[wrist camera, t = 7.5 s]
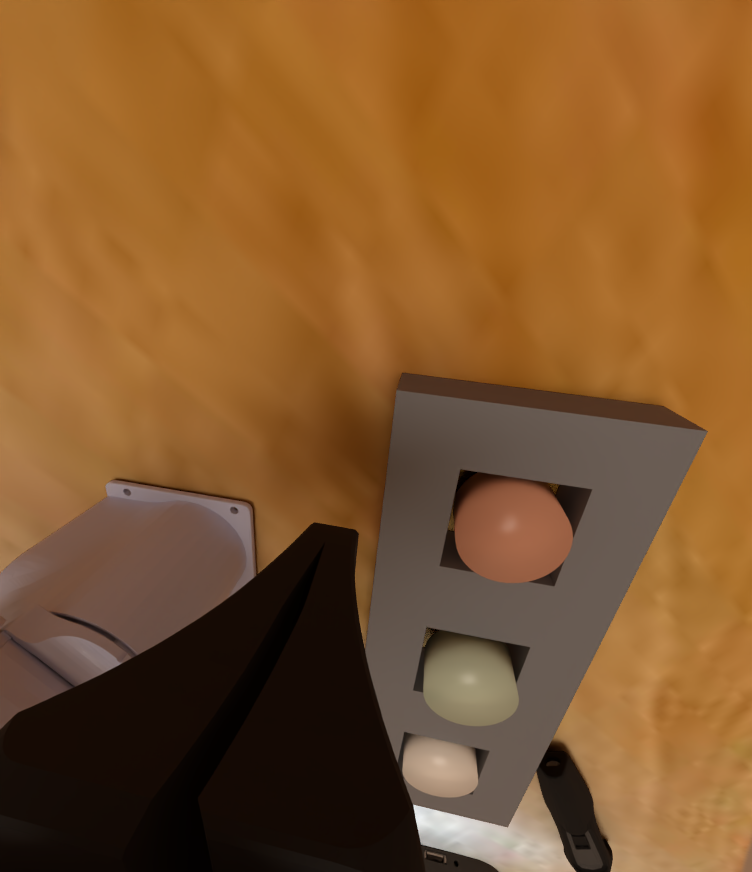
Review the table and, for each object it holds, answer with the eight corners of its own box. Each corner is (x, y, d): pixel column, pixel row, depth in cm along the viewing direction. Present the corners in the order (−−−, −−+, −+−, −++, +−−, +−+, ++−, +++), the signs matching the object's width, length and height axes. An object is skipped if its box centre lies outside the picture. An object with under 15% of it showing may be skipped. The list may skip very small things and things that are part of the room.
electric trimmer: (571, 727, 27) (587, 780, 24) (609, 841, 32) (626, 897, 29) (519, 730, 28) (528, 782, 25) (563, 841, 33) (575, 895, 30)
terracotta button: (445, 540, 20) (446, 572, 18) (463, 458, 18) (466, 484, 16) (540, 556, 19) (553, 591, 17) (569, 474, 17) (588, 503, 15)
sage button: (419, 674, 23) (417, 714, 21) (431, 618, 21) (430, 657, 19) (499, 690, 23) (506, 734, 21) (520, 635, 21) (529, 677, 19)
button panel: (356, 744, 31) (348, 788, 28) (402, 372, 18) (396, 390, 15) (501, 776, 30) (507, 827, 27) (663, 405, 17) (707, 431, 14)
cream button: (401, 747, 28) (398, 787, 26) (409, 707, 26) (407, 747, 24) (467, 762, 28) (469, 804, 25) (481, 723, 26) (485, 764, 23)
